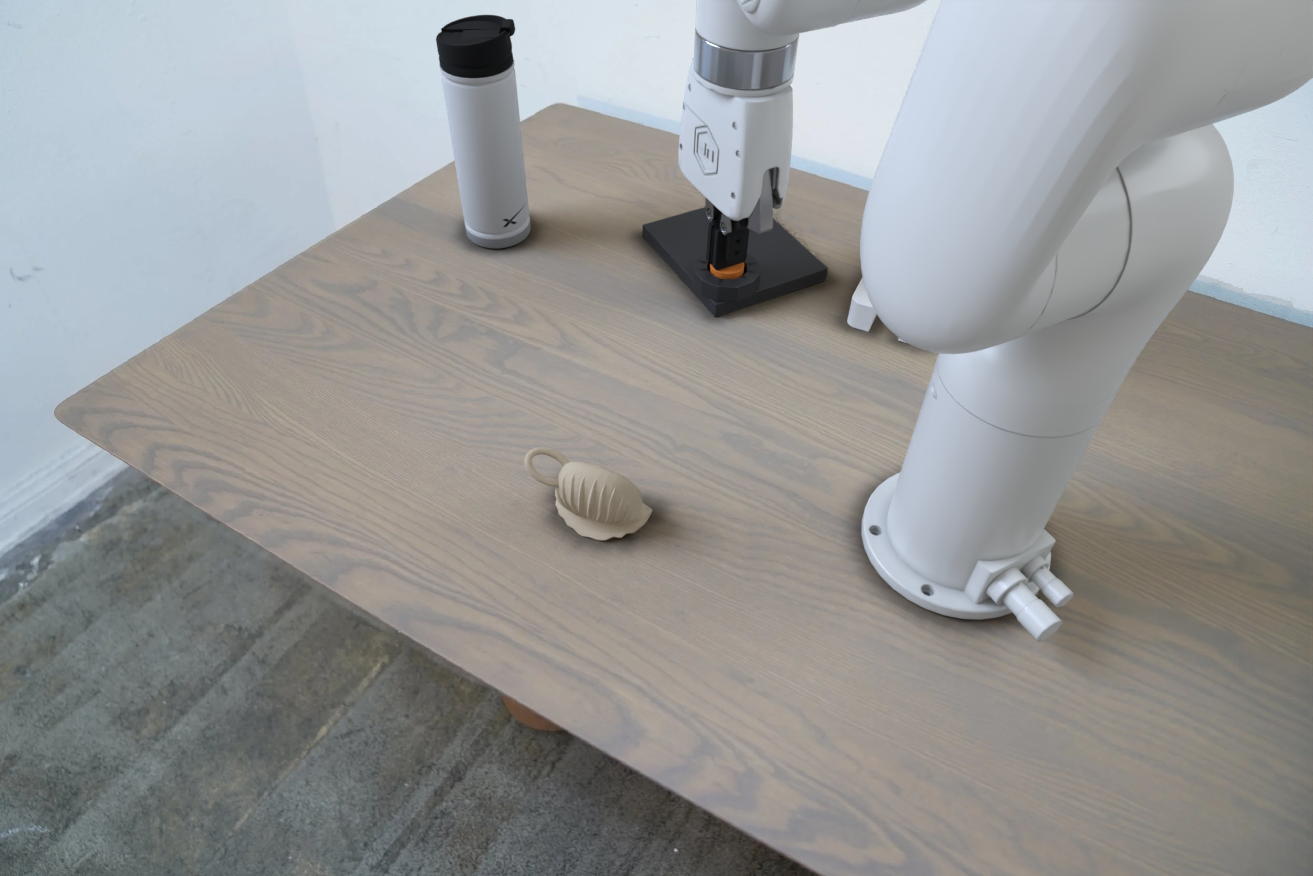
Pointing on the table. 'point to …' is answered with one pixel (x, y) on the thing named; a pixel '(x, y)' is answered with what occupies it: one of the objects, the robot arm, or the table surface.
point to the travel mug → (485, 128)
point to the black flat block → (767, 267)
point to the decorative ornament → (593, 497)
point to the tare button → (728, 271)
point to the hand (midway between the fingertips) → (725, 261)
